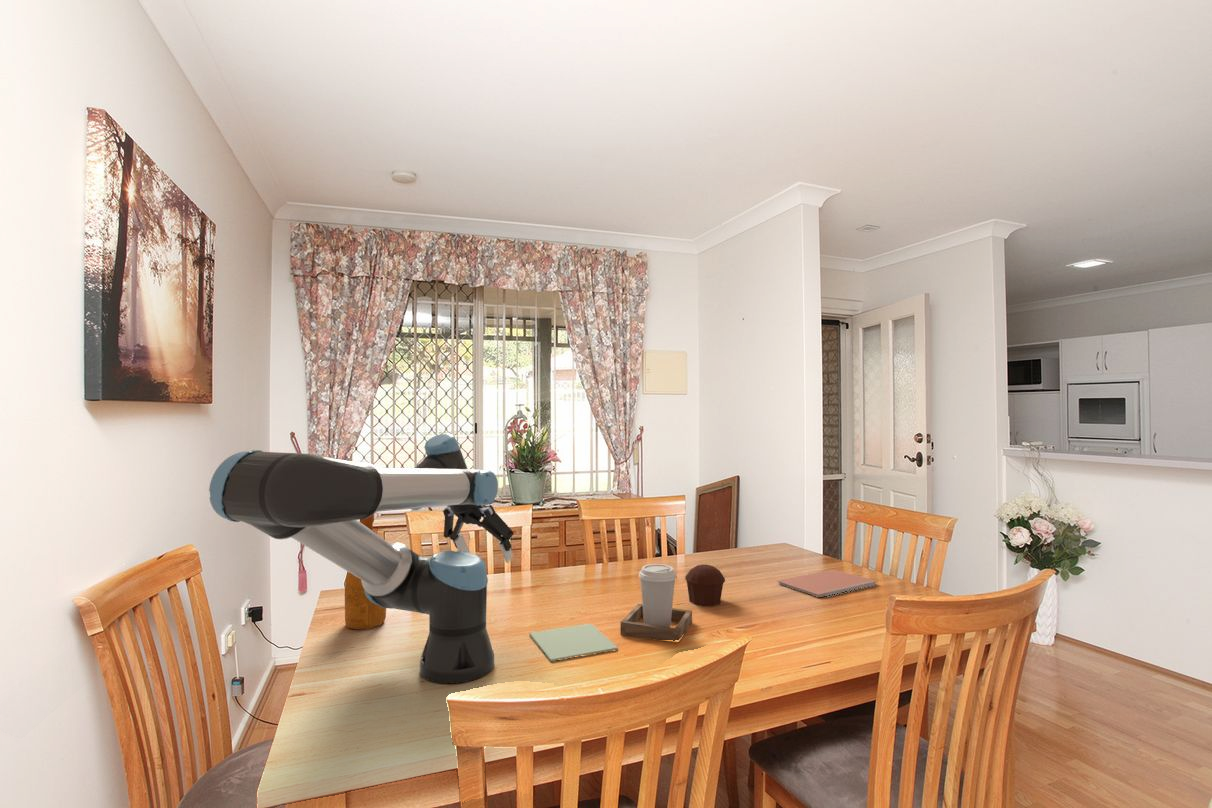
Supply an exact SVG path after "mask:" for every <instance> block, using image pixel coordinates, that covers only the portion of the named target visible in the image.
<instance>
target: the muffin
mask: <svg viewBox="0 0 1212 808" xmlns="http://www.w3.org/2000/svg"><path fill="white" fill-rule="evenodd" d="M684 578H685V579H684V580H685V581H686V584H687V593H688V600H689V601H688V602H690V603H692V604H693V605H697V606H700V605H701V607H715V606H718V605H720V604H721V600H722V594H723V593H722V592H723V586H724V583H725V581H726V579H725V576H724V575H723V574H722V572H721V571H720V569H719V568H717V567H715V566H713V565H711V564H698V565H696V566H694V567H692V568H691V569H690V570H688V572H687V574H686V575H685V576H684Z"/></svg>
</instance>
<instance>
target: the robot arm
mask: <svg viewBox="0 0 1212 808" xmlns="http://www.w3.org/2000/svg"><path fill="white" fill-rule="evenodd" d="M423 448H424V451H425V454H426V456H425V457H424V458H423V460H422V461H420V462H419V464H417V465H416V466H415V467H414V468H398V467H397V468H394V467H393V468H392V467H390V468H388V467H385V468H384V467H381V468H380V467H376V466H375V465H373V464H372V463H369V462H365V461H351V460H347V459H346V460H345V459H339V458H333V457H330V456H324V455H317V454H311V453H302V452H301V453H299V452H298V453H296V452H295V453H294V452H280V451H279V452H278V451H277V452H276V451H275V452H274V451H263V450H259V449H253V450H249V451H246V450H244V451H241V452H239V451H238V452H237V453H234V454H231V455H230V456H228V457H226V458H225V459H224V460H223V461H222V462H221V463H220V464H219V466H217V468H216V469H215V471H214V473H213V475H212V477H211V480H210V483H209V489H208V491H209V503H210V504H211V507H212V509H213V511H214V512H215V513H216V514H217V515H218V516H220V517H221V518H223V519H225V520H228V521H230V522H232V523H233V522H234V523H239V522H242V523H245V524H248V525H250V526H251V527H253V528H255V529H256V530H259V531H260V532H261V533H264V534H266V535H267V536H269V537H271V538H273V539H275V540H287V539H290V538H291V539H294V540H295V541H297V542H298V543H300V544H301V545H303V546H305V547H306V548H308V549H310V550H311V551H312V552H315V553H316V554H318V555H320V556H321V557H323V558H324V559H326V560H328V561H330V562H331V563H332V564H335V565H336V566H338V567H339V568H341V569H343V570H344V571H346V572H347V571H348V572H349V573H351V574H353V575H354V576H356V577H358V578H359V579H361V582H362V586H363V588H364V593H365V595H366V596H367V598H368V599H369V600H370V601H371V602H372V603H374V604H376V605H379V606H381V607H384V608H386V609H389V610H390V609H394V610H401V611H407V612H413V613H418V614H419V613H420V614H424V615H428V617H429V621H428V622H429V623H428V624H429V625H428V627H429V630H428V631H429V632H428V636H427V639H426V641H425V645H424V647H423V651H422V654H421V657H420V660H419V673H420V675H421V677H422V678H424V679H425V680H427V681H429V682H432V683H437V684H445V683H452V684H458V683H457V682H462V683H466V681H467V682H470V680H471V681H474V679H475V680H477V679H480V678H482V677H485V676H486V675H487V674H489V673H490V672H491V671H492V670H493V668H494V666H495V653H494V649H493V646H492V644H491V643H492V642H491V638H490V636H489V634H488V630H487V599H488V597H487V596H488V595H487V594H488V593H487V591H488V582H489V581H488V574H487V564H486V562H485V559H483V558H482V557H481V556H479V555H477V554H475V553H472V552H471V551H470V549H469V546H468V544H467V542H466V540H465V537H464V535H463V534H462V533H461V529H462V528H463V525H464V524H465V525H477V526H478V527H479V528H483V529H484V530H485V531H487V532H488V533H489V534H491V536H493V537H494V538H496V539H497V540H498V542H497V544H498V546H499V548H500V552H501V554H502V557H503V559H504V561H505V563H506V564H509V563H510V561H511V560H512V558H513V557H514V554H513V551H512V544H511V541H510V540H511V538H512V537H513V535H514V533H515V532H514V531H513V530H512V529H511V527H510V526H509V525H508V524H507V523H506V522H505V521H504V520H503V518H501V516H499V515H498V513H497V512H496V510H495V509H494V507H493V505H491V504H492V503H493V502H494V501H495V500H496V498H497V494H498V491H499V490H498V488H499V481H498V478H497V476H496V474H495V473H494V472H492V471H491V470H485V469H471V468H470V469H469V468H468V466H467V463H466V460H465V459H464V455H463V452H462V450H461V447H460V445H459V443H458V441H457V440H456V437H455V435H454V434H451V433H440V434H436V435H435V436H432V437H431V438H429V439H428V440H427V441H426V442H425V444H424V447H423ZM483 506H487V507H483ZM433 507H434V508H436V507H445V508H444V509H443V511H442V512H443V515H444V522H443V523H444V524H443V526H444V527H443V537H444V538H446V539H447V538H449V539H450V540H451V541H452V542H453V544H454V546H455V548H456V549H457V550H455V551H454V550H442V551H438V552H436V553H434V554H433V555H431V556H426V555H421V554H419V553H416V552H415V551H414V550H412V549H411V548H409V547H408V546H407V545H405V544H404V543H401V542H396V541H395V542H388V541H387V540H386V539H384V538H383V537H381V536H380V535H378V534H377V533H376V532H374V531H371V530H370V529H369V528H367V527H366V526H365V525H363V524H362V523H360V519H365V518H368V517H370V516H372V515H373V514H374V515H375V513H378V512H389V511H390V512H391V511H403V510H413V511H418V510H421V509H423V508H425V509H426V508H433ZM455 516H456V517H457V520H456V522H455V525H454V517H455ZM481 519H482V520H481Z"/></svg>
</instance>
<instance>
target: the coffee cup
mask: <svg viewBox="0 0 1212 808" xmlns="http://www.w3.org/2000/svg"><path fill="white" fill-rule="evenodd" d="M638 578H639V579H640V588H641V602H642V603H641V604H642V605H643V617H642V618H643V624H650V625H657V626H664V627H671V624H672V621H671V615H672V608H673V603H674V591H675V582H676V580H677V578H678V577H677V573H676V572H675V569H674V567H673V566H671V565H668V564H664V563H663V564H661V563H650V564H645V565H643V566H641V570H639V573H638Z"/></svg>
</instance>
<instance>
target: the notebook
mask: <svg viewBox="0 0 1212 808" xmlns="http://www.w3.org/2000/svg"><path fill="white" fill-rule="evenodd" d="M776 581H777V584H778V585H779V584H780V586H782V585H783V587H785V586H786V587H785V588H788V587H789V588H788V589H791V588H793V589H792V590H794V589H796V590H795V591H797V590H799V591H798V592H800V591H802V592H801V593H803V592H805V593H808V594H811V595H814V596H817V597H823V596H827V595H828V596H827V598H828V597H829V598H832V597H833V596H834V597H835V596H836V595H837V596H840V595H841V594H844V593H847V592H848V593H850V591H851V590H852V591H851V592H853V591H854V592H855V590H857V591H859V589H860V588H861V587H862V588H861V589H860V590H862V589H865V588H868V587H870V588H873V587H874V586H876V585H877V584H876V583H877V581H876V580H873V579H869V578H866V577H863V576H858V575H856V574H852V573H849V572H846V571H842V570H838V569H829V570H825V571H818V572H814V573H809V574H804V575H798V576H794V577H789V578H784V579H779V580H776ZM870 585H871V586H870ZM866 586H868V587H866ZM872 586H873V587H872ZM863 587H865V588H863ZM857 588H859V589H857ZM854 589H855V590H854ZM849 590H850V591H849ZM845 591H847V592H845ZM840 592H841V593H840ZM842 592H844V593H842ZM805 593H804V594H805ZM837 593H838V594H837ZM808 594H807V595H808ZM832 594H833V595H832ZM834 594H835V595H834ZM839 594H840V595H839ZM811 595H810V596H811ZM829 595H830V596H829ZM814 596H813V597H814ZM831 596H832V597H831ZM817 597H816V598H817ZM823 598H824V597H823Z"/></svg>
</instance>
